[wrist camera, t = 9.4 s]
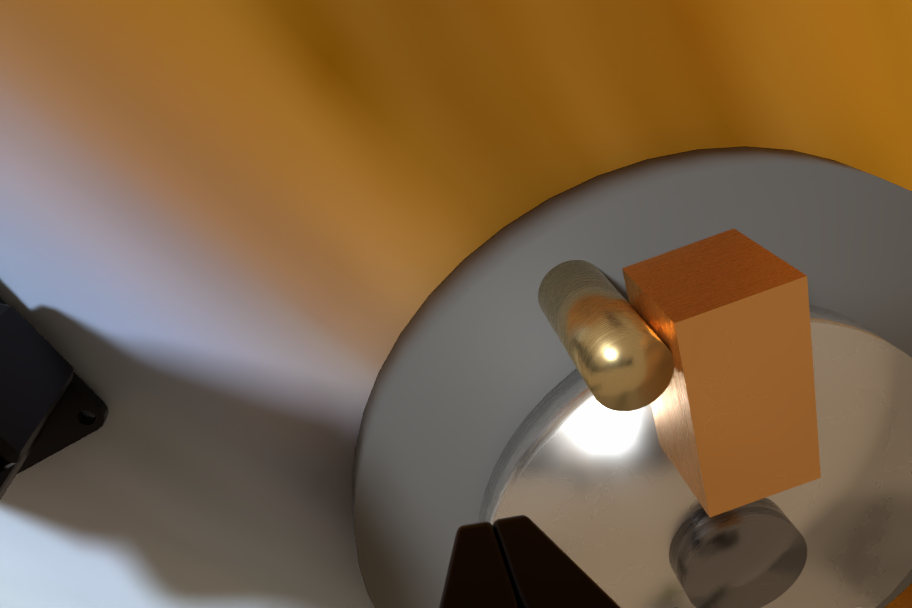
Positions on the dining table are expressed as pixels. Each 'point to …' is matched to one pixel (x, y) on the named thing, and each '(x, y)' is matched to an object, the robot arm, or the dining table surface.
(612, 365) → the dowel
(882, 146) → the dining table surface
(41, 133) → the dining table surface
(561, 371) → the base plate
